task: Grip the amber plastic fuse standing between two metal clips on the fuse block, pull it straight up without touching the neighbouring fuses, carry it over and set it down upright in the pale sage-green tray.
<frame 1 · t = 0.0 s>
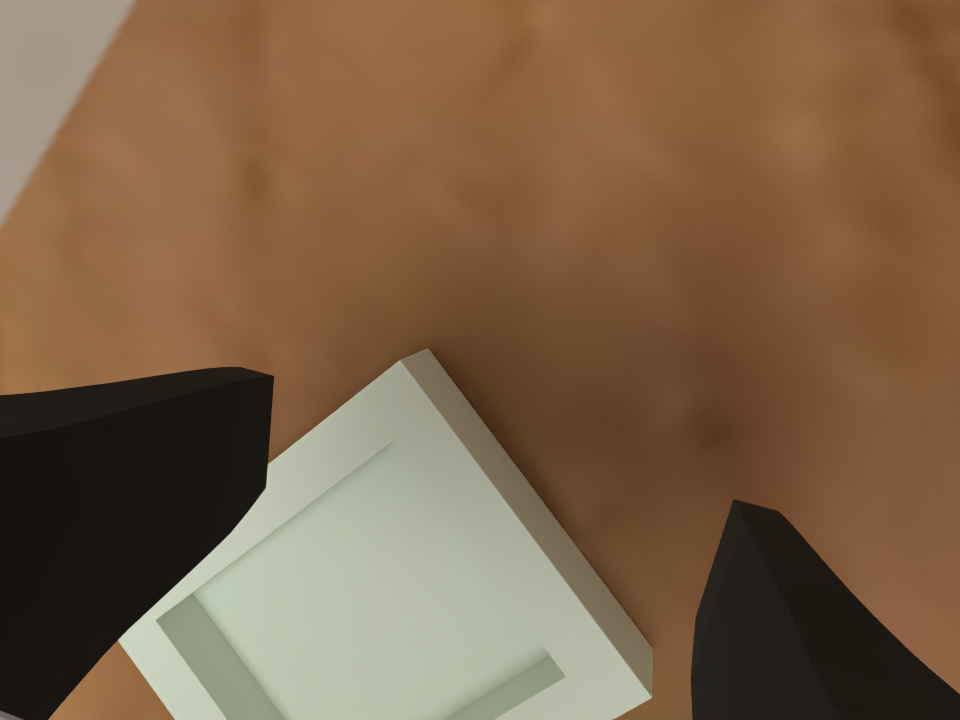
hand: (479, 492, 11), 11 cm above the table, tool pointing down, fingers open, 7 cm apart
tray: (378, 606, 24), on the table
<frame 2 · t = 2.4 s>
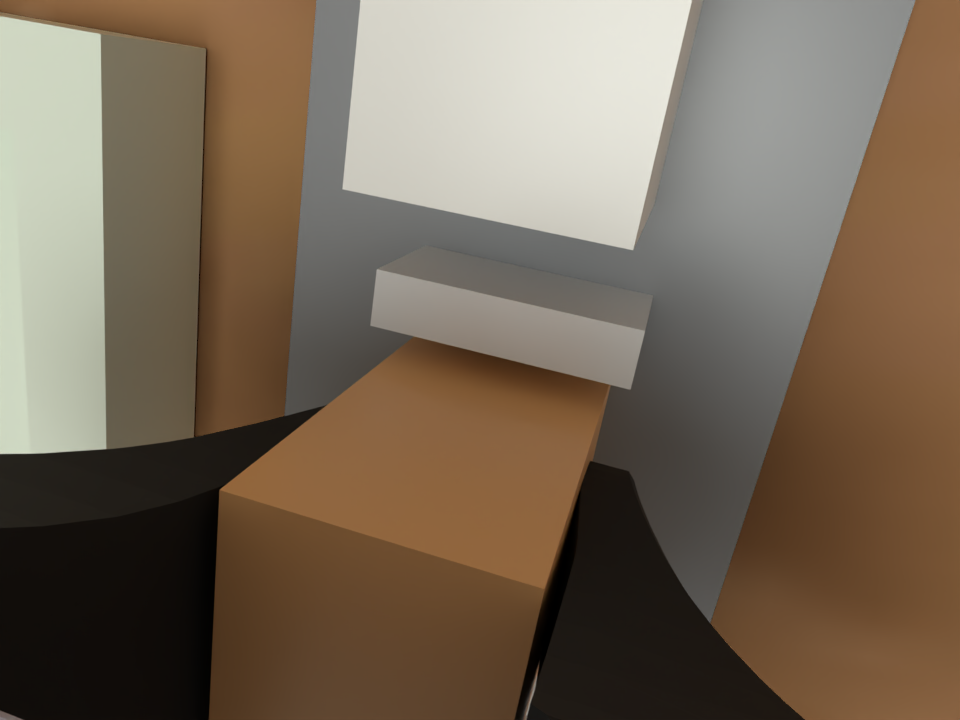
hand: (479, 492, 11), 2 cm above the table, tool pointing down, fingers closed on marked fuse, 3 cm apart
fuse block: (514, 431, 14), on the table
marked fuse: (500, 454, 13), point 1 cm above the table, touching fuse block, gripper
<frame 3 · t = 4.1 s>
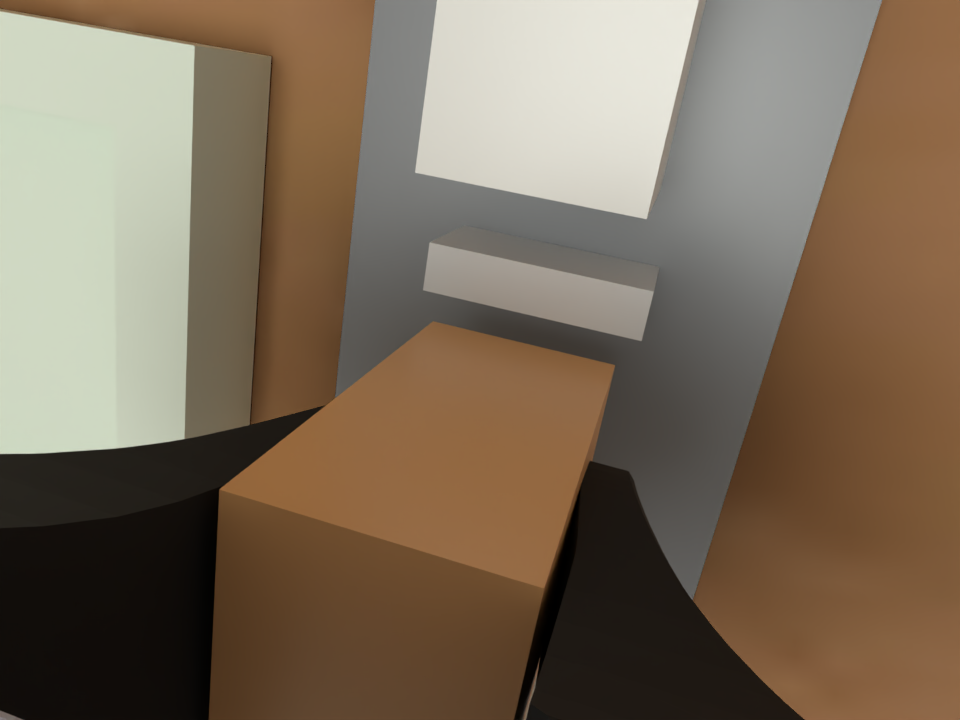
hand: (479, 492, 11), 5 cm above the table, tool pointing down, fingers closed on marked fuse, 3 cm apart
tray: (50, 305, 18), on the table
fuse block: (537, 389, 16), on the table
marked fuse: (500, 453, 13), point 3 cm above the table, touching gripper
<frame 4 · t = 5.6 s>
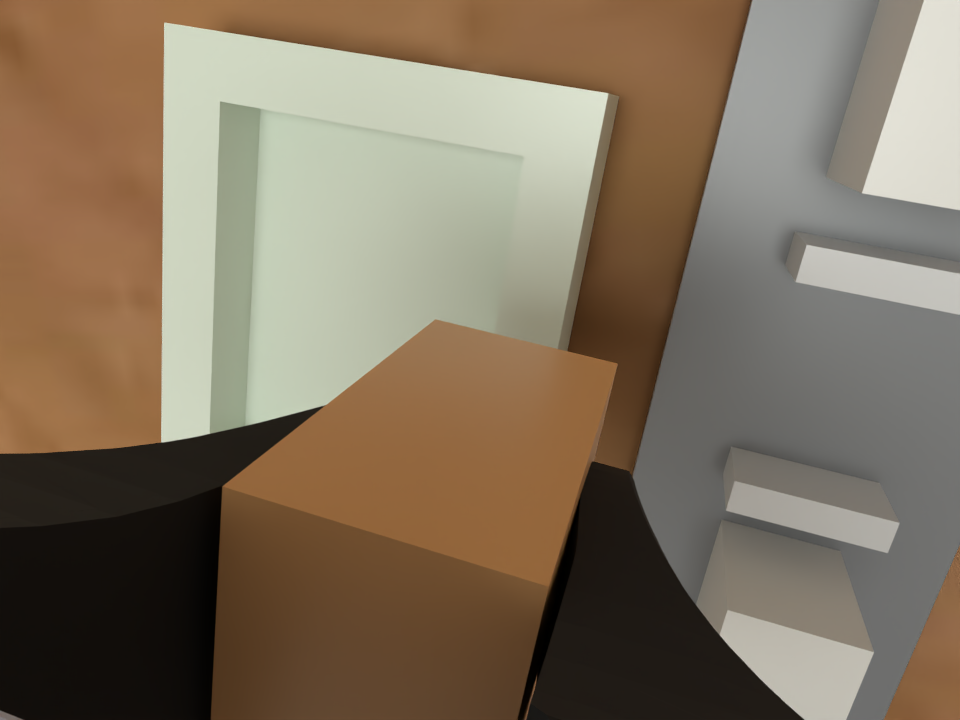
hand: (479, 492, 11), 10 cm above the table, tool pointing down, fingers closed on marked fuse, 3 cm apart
tray: (383, 301, 22), on the table
fuse block: (826, 364, 19), on the table
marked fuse: (502, 452, 13), point 9 cm above the table, touching gripper
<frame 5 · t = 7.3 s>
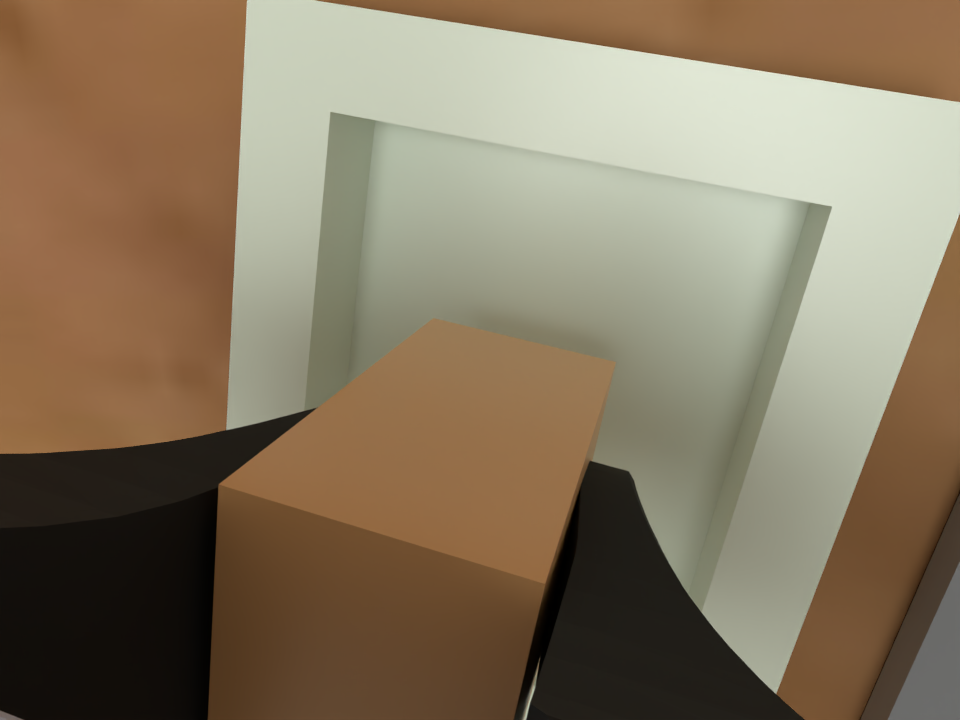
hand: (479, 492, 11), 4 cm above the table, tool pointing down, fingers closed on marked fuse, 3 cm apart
tray: (536, 393, 15), on the table
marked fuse: (501, 450, 13), point 3 cm above the table, touching gripper
when the fingers open (4 cm above the table, at t = 8.5 s): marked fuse drops 2 cm, resting on tray.
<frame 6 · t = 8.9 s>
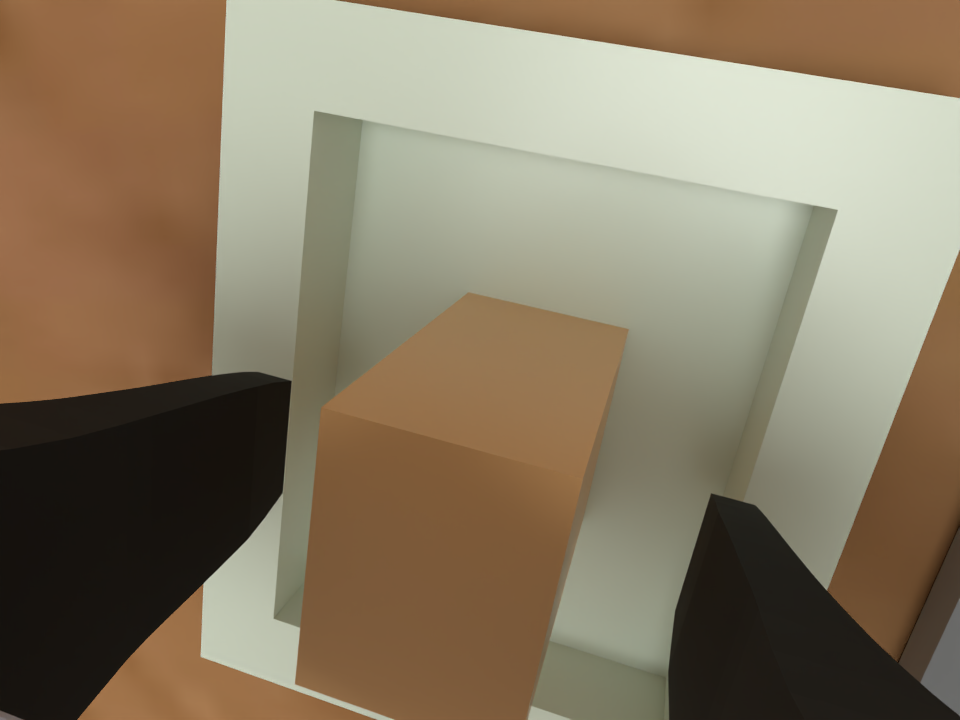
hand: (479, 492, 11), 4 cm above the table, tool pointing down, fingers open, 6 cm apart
tray: (530, 402, 15), on the table
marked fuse: (527, 409, 14), point 1 cm above the table, touching tray
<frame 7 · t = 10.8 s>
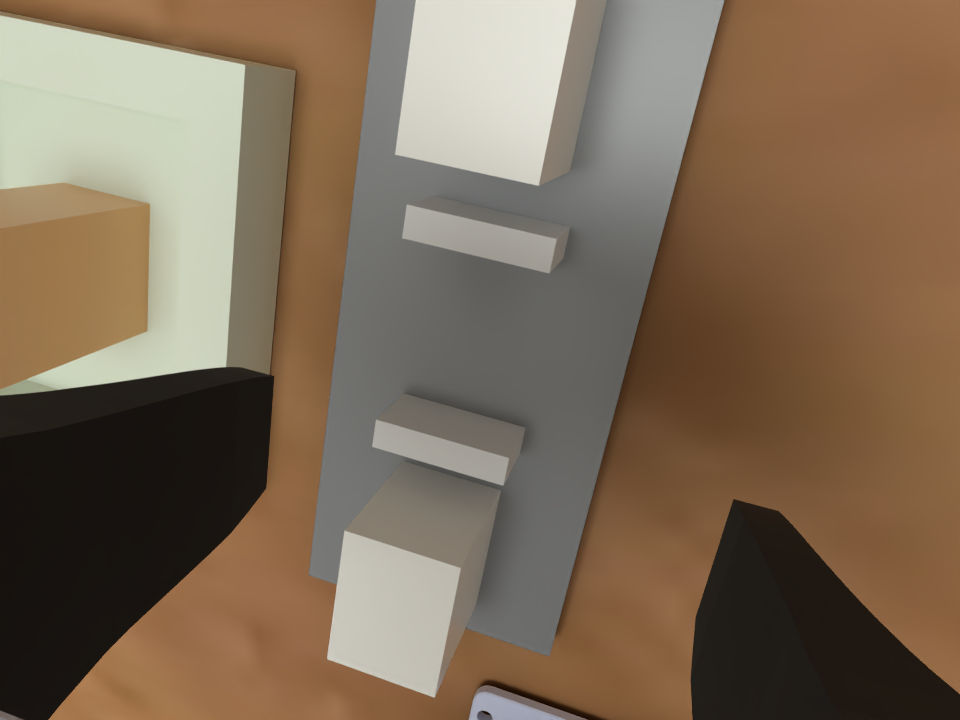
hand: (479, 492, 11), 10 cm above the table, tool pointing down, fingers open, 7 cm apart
tray: (118, 257, 24), on the table
fuse block: (488, 320, 21), on the table
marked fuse: (106, 258, 23), point 1 cm above the table, touching tray
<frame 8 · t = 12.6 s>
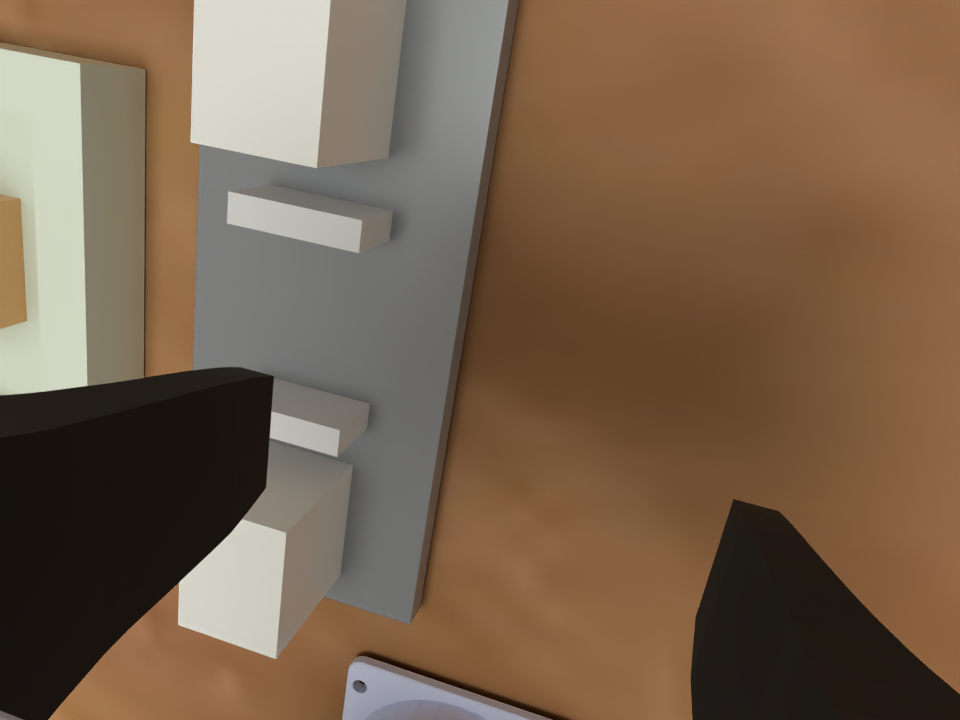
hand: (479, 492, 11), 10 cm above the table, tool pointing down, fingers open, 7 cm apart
tray: (0, 250, 25), on the table
fuse block: (335, 302, 22), on the table
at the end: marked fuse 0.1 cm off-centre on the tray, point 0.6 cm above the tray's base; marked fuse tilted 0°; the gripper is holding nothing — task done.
